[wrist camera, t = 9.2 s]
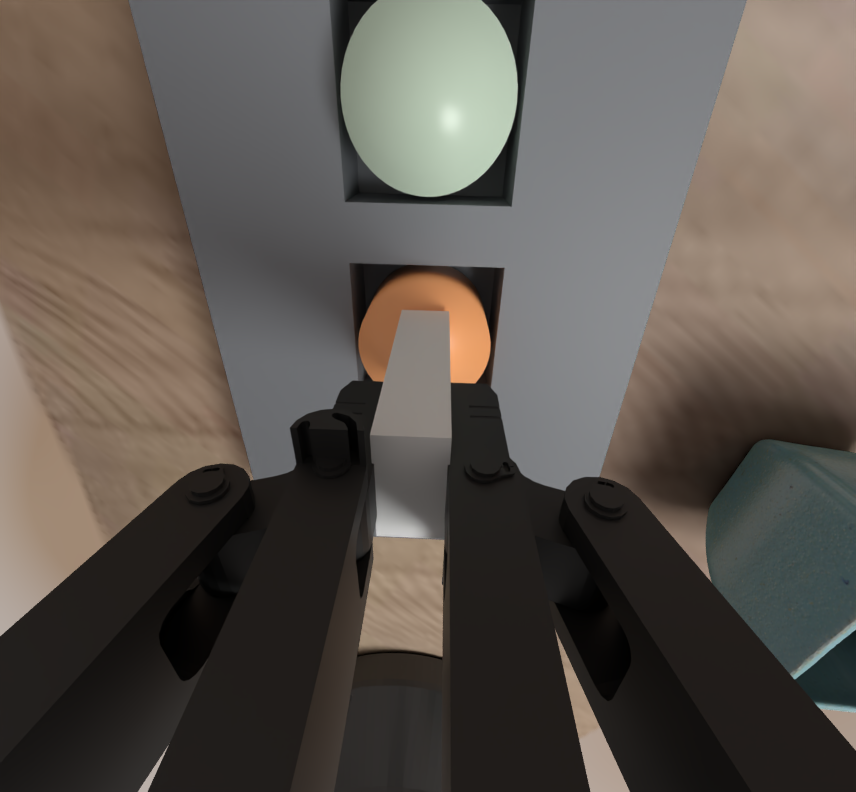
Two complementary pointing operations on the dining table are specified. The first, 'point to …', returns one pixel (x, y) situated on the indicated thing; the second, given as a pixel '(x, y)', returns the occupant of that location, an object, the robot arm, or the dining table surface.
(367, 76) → the sage button
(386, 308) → the orange button
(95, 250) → the dining table surface
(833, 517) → the flower pot
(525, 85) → the button panel
